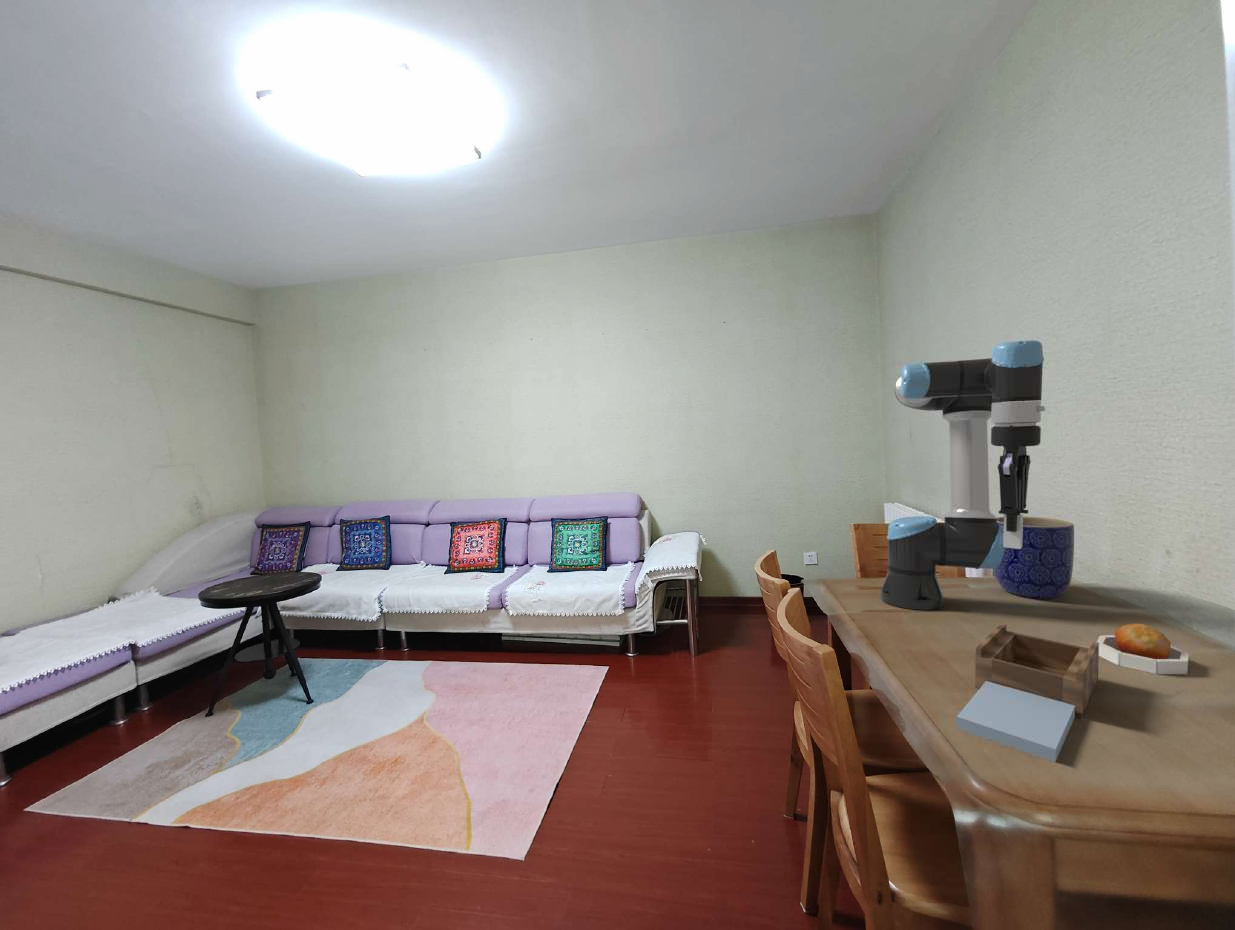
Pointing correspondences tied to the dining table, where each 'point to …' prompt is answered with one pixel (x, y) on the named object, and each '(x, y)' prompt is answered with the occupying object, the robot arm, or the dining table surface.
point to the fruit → (1142, 641)
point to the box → (1038, 667)
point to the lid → (1018, 720)
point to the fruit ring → (1143, 658)
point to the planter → (1038, 559)
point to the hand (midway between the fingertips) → (1012, 547)
